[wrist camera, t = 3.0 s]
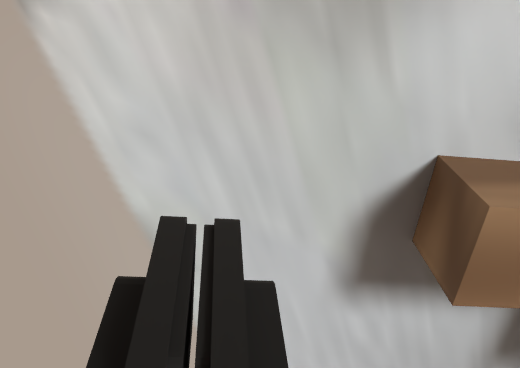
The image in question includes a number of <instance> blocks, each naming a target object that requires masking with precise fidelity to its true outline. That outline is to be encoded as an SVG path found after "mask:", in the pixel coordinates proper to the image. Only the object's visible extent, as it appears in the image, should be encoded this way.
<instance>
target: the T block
mask: <svg viewBox="0 0 520 368" xmlns="http://www.w3.org/2000/svg"><path fill="white" fill-rule="evenodd" d="M412 241H413V243H414V244H415V246H416V247H417V249H418V251H419V252H420V254H421V255H422V257H423V259H424V260H425V262H426V264H427V265H428V267H429V268H430V270H431V272H432V273H433V275H434V276H435V278H436V280H437V281H438V283H439V284H440V286H441V288H442V289H443V291H444V293H445V294H446V296H447V297H448V299H449V301H450V302H451V304H452V305H453V306H477V307H501V308H520V161H507V160H494V159H480V158H467V157H453V156H439V155H438V157H437V161H436V164H435V167H434V171H433V174H432V177H431V181H430V184H429V187H428V191H427V194H426V197H425V200H424V204H423V207H422V210H421V214H420V217H419V220H418V224H417V227H416V230H415V234H414V237H413V240H412Z"/></svg>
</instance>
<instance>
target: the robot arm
mask: <svg viewBox="0 0 520 368" xmlns="http://www.w3.org/2000/svg"><path fill="white" fill-rule="evenodd" d="M195 248H196V224H187V217H171V216H161V217H160V221H159V225H158V230H157V234H156V238H155V242H154V246H153V251H152V255H151V259H150V263H149V267H148V272H147V276H146V277H123V276H118V277H117V278H116V280H115V282H114V285H113V288H112V291H111V294H110V297H109V300H108V303H107V306H106V309H105V312H104V315H103V318H102V321H101V324H100V327H99V330H98V333H97V336H96V339H95V342H94V345H93V349H92V351H91V354H90V357H89V360H88V363H87V366H86V368H189V360H190V348H191V336H192V320H193V297H194V272H195ZM195 368H288V363H287V356H286V350H285V344H284V338H283V331H282V325H281V319H280V313H279V306H278V300H277V294H276V288H275V283H274V282H273V281H254V280H244V275H243V259H242V244H241V229H240V220H237V219H215V222H214V225H204V239H203V254H202V269H201V283H200V298H199V313H198V328H197V343H196V358H195Z"/></svg>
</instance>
